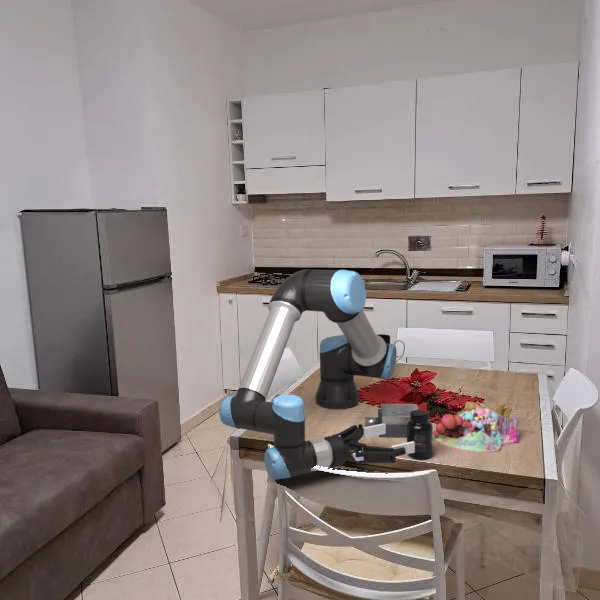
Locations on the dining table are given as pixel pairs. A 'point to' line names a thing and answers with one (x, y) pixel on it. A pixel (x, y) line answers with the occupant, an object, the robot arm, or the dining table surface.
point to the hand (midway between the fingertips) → (398, 437)
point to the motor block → (393, 419)
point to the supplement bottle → (420, 434)
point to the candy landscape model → (477, 429)
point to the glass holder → (387, 341)
